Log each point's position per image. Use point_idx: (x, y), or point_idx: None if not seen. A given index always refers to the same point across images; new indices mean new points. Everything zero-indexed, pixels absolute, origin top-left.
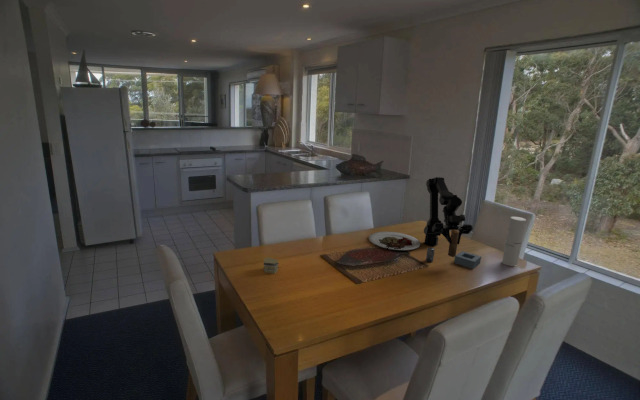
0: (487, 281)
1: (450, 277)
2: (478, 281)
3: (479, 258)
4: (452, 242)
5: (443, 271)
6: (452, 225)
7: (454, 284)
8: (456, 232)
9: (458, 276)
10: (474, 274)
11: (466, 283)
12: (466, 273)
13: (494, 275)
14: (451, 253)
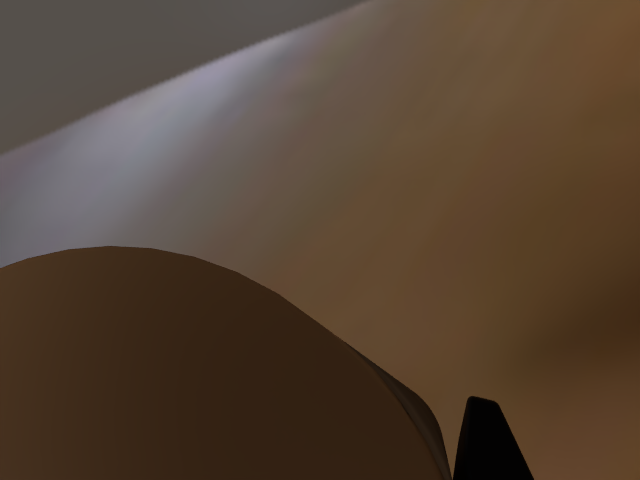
0: (186, 91)
1: (530, 179)
2: (272, 91)
3: None
4: (419, 403)
5: (541, 339)
6: None
7: (568, 32)
8: (216, 274)
9: (417, 199)
10: (204, 235)
11: (422, 53)
12: (276, 263)
13: (26, 203)
14: (416, 394)
